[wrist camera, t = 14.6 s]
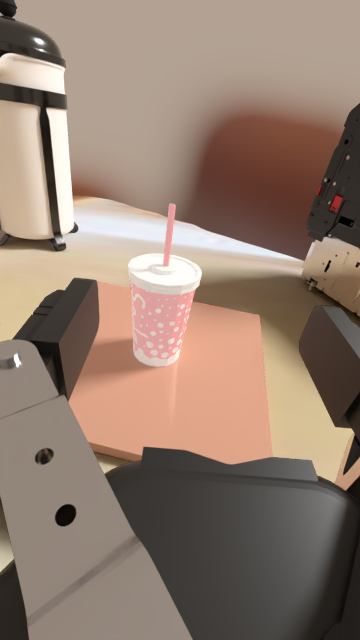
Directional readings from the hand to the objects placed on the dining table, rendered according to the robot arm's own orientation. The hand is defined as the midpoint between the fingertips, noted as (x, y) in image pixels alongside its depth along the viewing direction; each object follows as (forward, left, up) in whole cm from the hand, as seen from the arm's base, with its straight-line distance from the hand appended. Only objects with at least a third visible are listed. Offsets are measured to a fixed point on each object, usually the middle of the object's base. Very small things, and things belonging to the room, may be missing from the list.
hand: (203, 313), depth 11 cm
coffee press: (+32, -38, -15) cm, 52 cm away
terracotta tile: (+4, -13, -14) cm, 20 cm away
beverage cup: (+4, -13, -13) cm, 19 cm away
